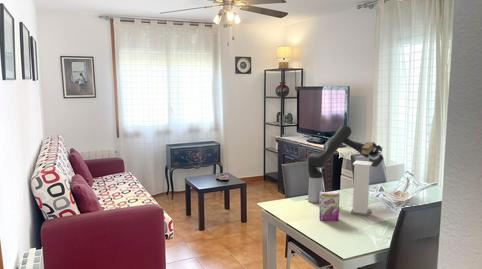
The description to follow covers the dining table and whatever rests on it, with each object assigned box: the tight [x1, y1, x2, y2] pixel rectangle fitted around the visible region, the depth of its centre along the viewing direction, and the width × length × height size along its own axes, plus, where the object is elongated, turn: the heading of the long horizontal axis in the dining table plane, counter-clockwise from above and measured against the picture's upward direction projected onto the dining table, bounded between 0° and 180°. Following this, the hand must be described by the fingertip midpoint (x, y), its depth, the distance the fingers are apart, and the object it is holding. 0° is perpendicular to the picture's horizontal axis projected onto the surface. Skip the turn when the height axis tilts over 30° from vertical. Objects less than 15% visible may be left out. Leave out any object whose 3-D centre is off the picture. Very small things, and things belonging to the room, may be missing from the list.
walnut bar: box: [361, 141, 376, 155], centre depth 239 cm, size 24×4×4 cm, turn 151°
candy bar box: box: [318, 191, 341, 222], centre depth 216 cm, size 11×5×16 cm, turn 84°
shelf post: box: [350, 160, 373, 217], centre depth 226 cm, size 10×10×32 cm
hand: (370, 144), depth 245 cm, fingers closed on walnut bar, 4 cm apart
